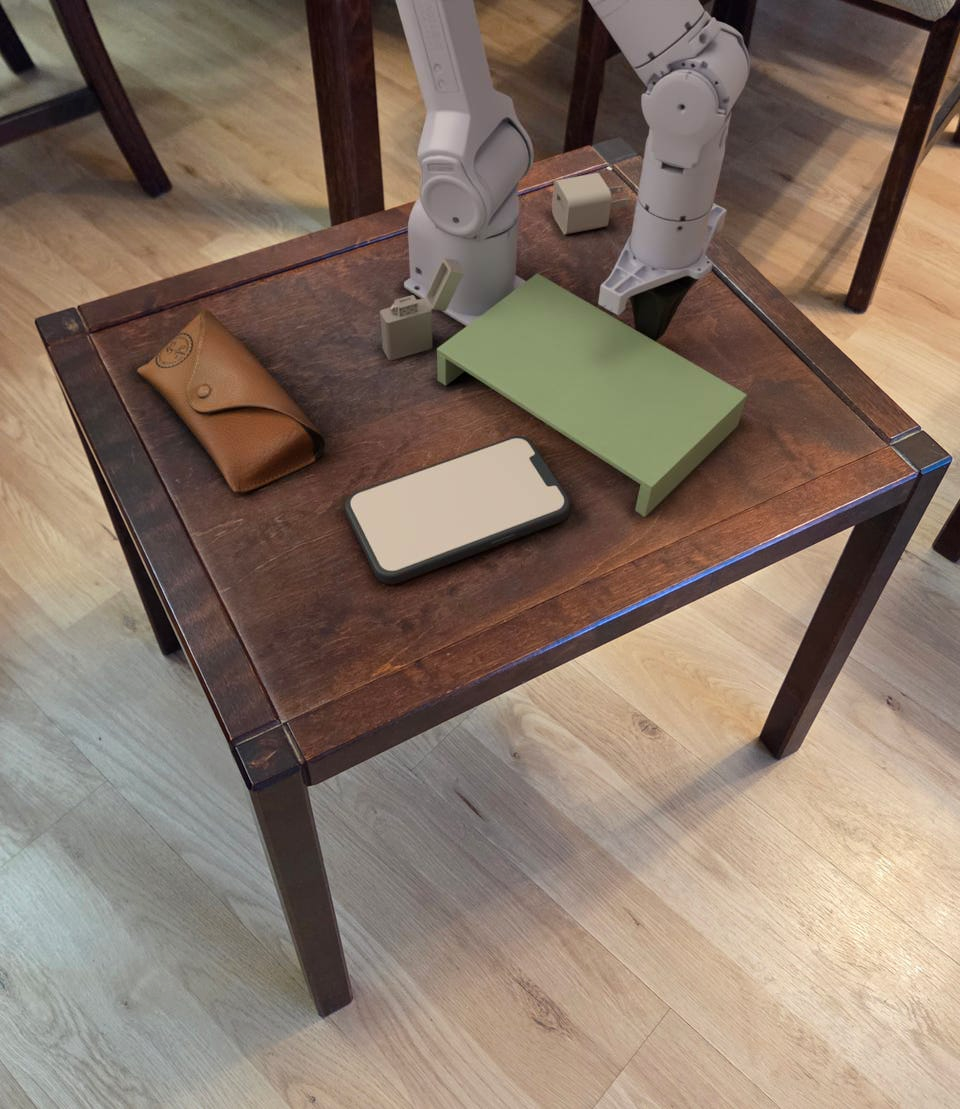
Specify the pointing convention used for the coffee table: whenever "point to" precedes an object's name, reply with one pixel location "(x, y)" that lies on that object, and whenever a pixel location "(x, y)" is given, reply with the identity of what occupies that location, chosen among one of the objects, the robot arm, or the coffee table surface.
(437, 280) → the lighter
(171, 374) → the sunglasses case
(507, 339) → the riser stand
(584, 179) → the usb wall charger
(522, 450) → the phone case
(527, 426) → the coffee table surface
